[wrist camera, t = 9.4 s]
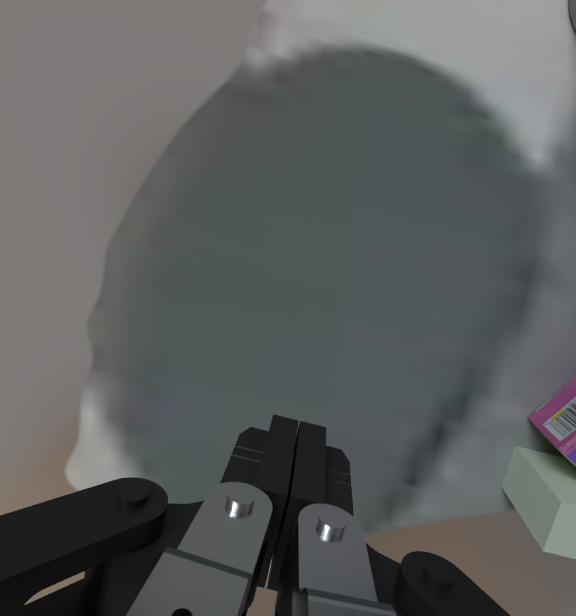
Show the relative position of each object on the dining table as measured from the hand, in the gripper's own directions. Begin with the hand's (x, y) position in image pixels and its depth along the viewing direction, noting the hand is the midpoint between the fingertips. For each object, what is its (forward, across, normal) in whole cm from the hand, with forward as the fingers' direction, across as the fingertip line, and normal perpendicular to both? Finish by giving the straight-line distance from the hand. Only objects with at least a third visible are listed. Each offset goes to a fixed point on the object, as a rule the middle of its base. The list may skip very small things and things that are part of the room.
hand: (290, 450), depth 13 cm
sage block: (+27, -22, +11) cm, 36 cm away
